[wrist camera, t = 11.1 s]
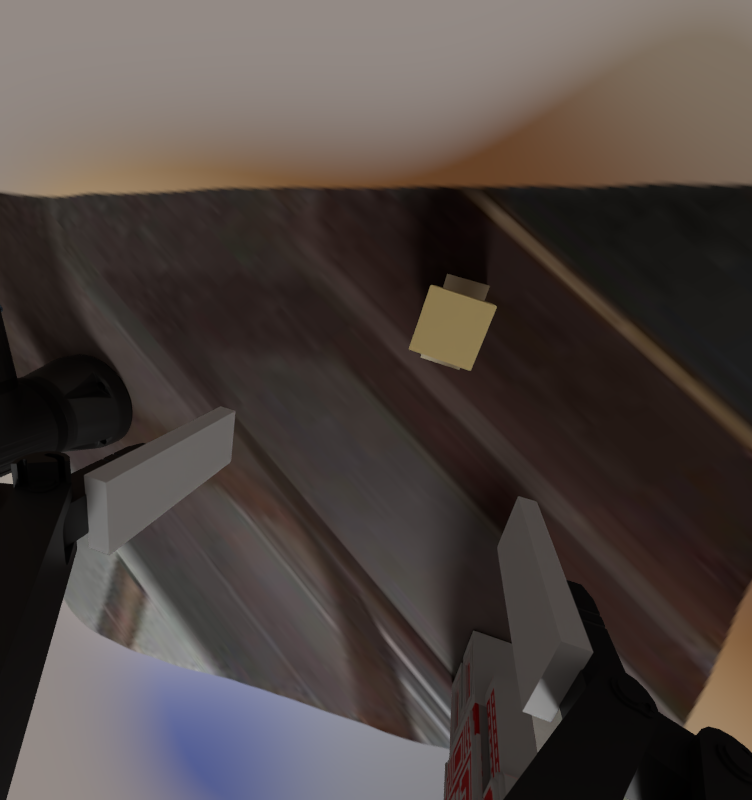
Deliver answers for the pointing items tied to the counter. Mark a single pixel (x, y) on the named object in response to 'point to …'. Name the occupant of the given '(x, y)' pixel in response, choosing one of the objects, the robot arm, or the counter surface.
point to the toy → (487, 724)
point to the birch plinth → (467, 289)
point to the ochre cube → (452, 327)
